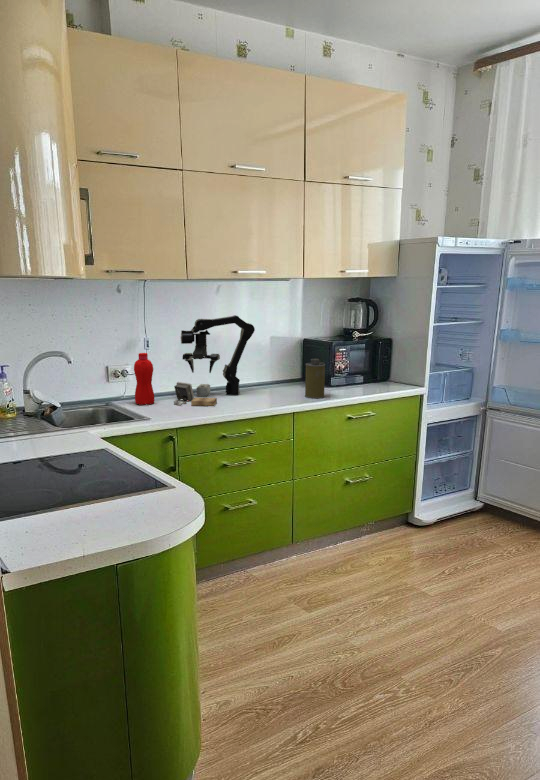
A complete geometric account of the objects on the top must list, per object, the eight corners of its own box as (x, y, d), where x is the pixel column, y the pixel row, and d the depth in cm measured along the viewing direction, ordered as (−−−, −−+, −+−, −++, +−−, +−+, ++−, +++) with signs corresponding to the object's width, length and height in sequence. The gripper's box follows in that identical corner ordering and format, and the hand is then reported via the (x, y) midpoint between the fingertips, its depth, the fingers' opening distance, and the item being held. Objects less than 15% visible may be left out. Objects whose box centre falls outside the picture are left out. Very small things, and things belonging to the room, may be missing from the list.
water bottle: (153, 400, 279) (151, 351, 275) (155, 404, 269) (153, 354, 264) (134, 401, 277) (132, 351, 272) (135, 405, 267) (133, 354, 262)
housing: (210, 393, 296) (210, 383, 295) (207, 397, 288) (206, 386, 287) (200, 393, 297) (200, 383, 296) (196, 397, 288) (196, 386, 287)
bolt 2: (186, 403, 273) (186, 400, 272) (186, 404, 271) (186, 400, 271) (176, 403, 271) (176, 400, 271) (176, 404, 270) (176, 401, 270)
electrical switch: (195, 400, 280) (193, 382, 277) (188, 403, 275) (186, 385, 273) (181, 398, 285) (179, 381, 282) (174, 401, 280) (172, 383, 278)
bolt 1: (182, 405, 268) (182, 402, 267) (180, 406, 267) (180, 402, 266) (176, 404, 271) (176, 400, 270) (173, 404, 270) (173, 401, 269)
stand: (216, 403, 274) (216, 398, 273) (213, 406, 266) (213, 401, 265) (195, 402, 275) (194, 397, 274) (191, 406, 267) (191, 400, 266)
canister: (312, 399, 284) (313, 361, 280) (300, 395, 292) (301, 358, 288) (329, 397, 289) (330, 359, 286) (317, 393, 298) (318, 357, 294)
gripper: (179, 344, 279) (179, 375, 282) (215, 345, 277) (215, 376, 280) (185, 342, 290) (185, 371, 293) (219, 343, 288) (220, 372, 291)
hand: (201, 372), depth 289 cm, fingers open, 9 cm apart
